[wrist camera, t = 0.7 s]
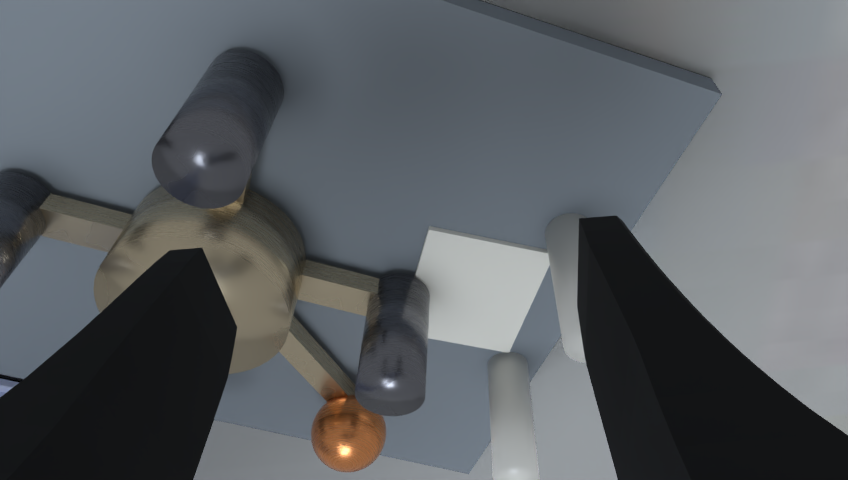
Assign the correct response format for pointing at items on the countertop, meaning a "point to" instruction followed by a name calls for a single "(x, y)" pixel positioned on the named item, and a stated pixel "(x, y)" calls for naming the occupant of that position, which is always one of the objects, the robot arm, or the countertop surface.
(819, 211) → the countertop surface
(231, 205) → the capstan
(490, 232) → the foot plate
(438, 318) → the white rounded posts
